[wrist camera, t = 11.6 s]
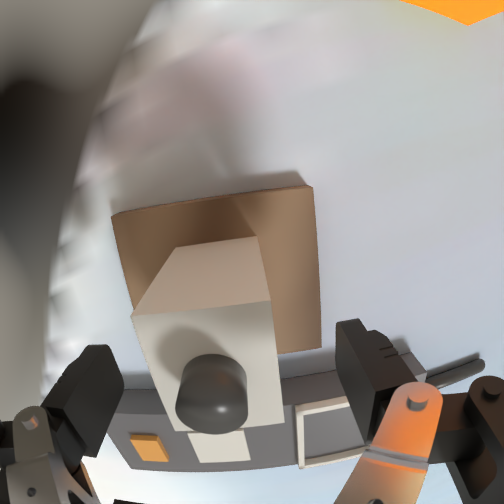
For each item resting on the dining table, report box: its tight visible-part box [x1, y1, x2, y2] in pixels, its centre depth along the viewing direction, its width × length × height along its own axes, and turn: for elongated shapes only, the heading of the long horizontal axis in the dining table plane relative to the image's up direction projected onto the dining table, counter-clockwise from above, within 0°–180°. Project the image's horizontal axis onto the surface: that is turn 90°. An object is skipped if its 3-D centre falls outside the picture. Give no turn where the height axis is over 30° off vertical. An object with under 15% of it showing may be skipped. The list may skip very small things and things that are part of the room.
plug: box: [130, 236, 285, 435], centre depth 12 cm, size 4×5×8 cm
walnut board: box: [111, 185, 322, 355], centre depth 16 cm, size 10×9×1 cm
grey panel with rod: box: [107, 352, 485, 472], centre depth 19 cm, size 30×7×3 cm, turn 97°
